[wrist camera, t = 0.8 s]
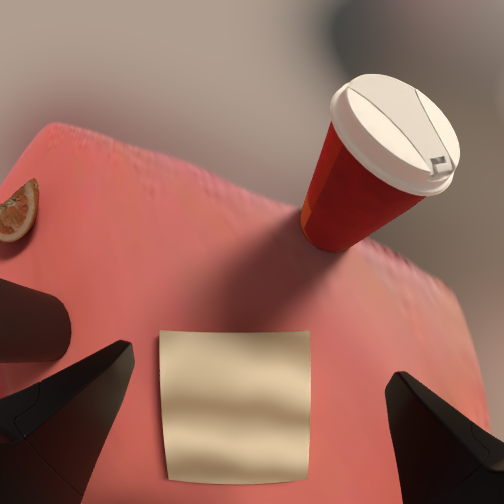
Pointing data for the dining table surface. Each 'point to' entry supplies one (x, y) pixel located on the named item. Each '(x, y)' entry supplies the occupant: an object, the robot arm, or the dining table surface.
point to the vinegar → (31, 325)
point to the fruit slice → (19, 212)
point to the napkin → (236, 406)
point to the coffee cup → (376, 160)
